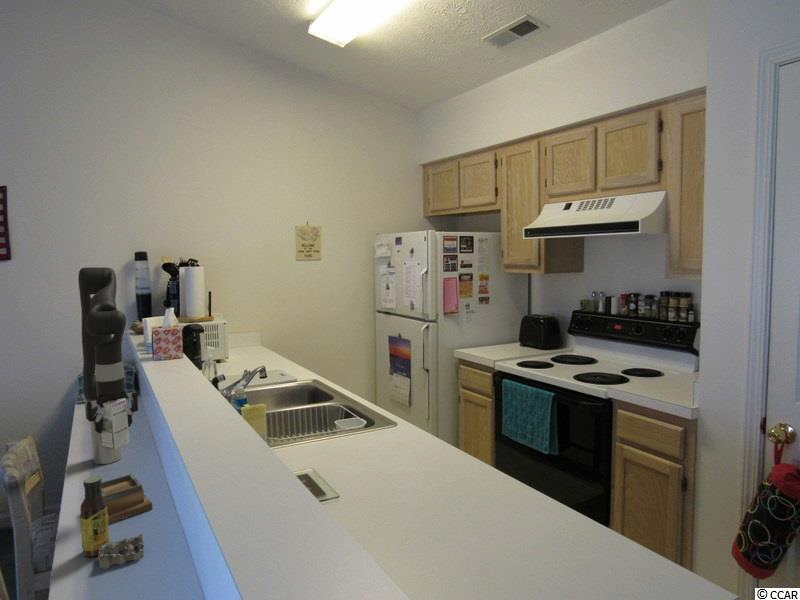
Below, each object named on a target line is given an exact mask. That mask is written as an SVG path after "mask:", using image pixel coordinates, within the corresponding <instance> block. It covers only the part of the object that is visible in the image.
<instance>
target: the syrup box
mask: <svg viewBox="0 0 800 600" xmlns="http://www.w3.org/2000/svg"><path fill="white" fill-rule="evenodd" d="M124 404H125V405H126V406H127V399H126V398H122V399H120V400H112V401H111V402H108V403H106V402H105V403H103V406H105V414H104V415H103V416H102V418H101V419H100V421H101V429H102V433H100V440H101V447H105V448H111V449H117V448H119V447H121V448H122V447H124V446H126V445H128V444H129V443H130V435H129V434H130V433H129V427H128V418H127V409H126V410H124ZM96 406H98V410H100V411H101V410H102V408H101V407H100V406H99V405H98V404H97V403H96ZM127 407H128V406H127Z"/></svg>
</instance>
